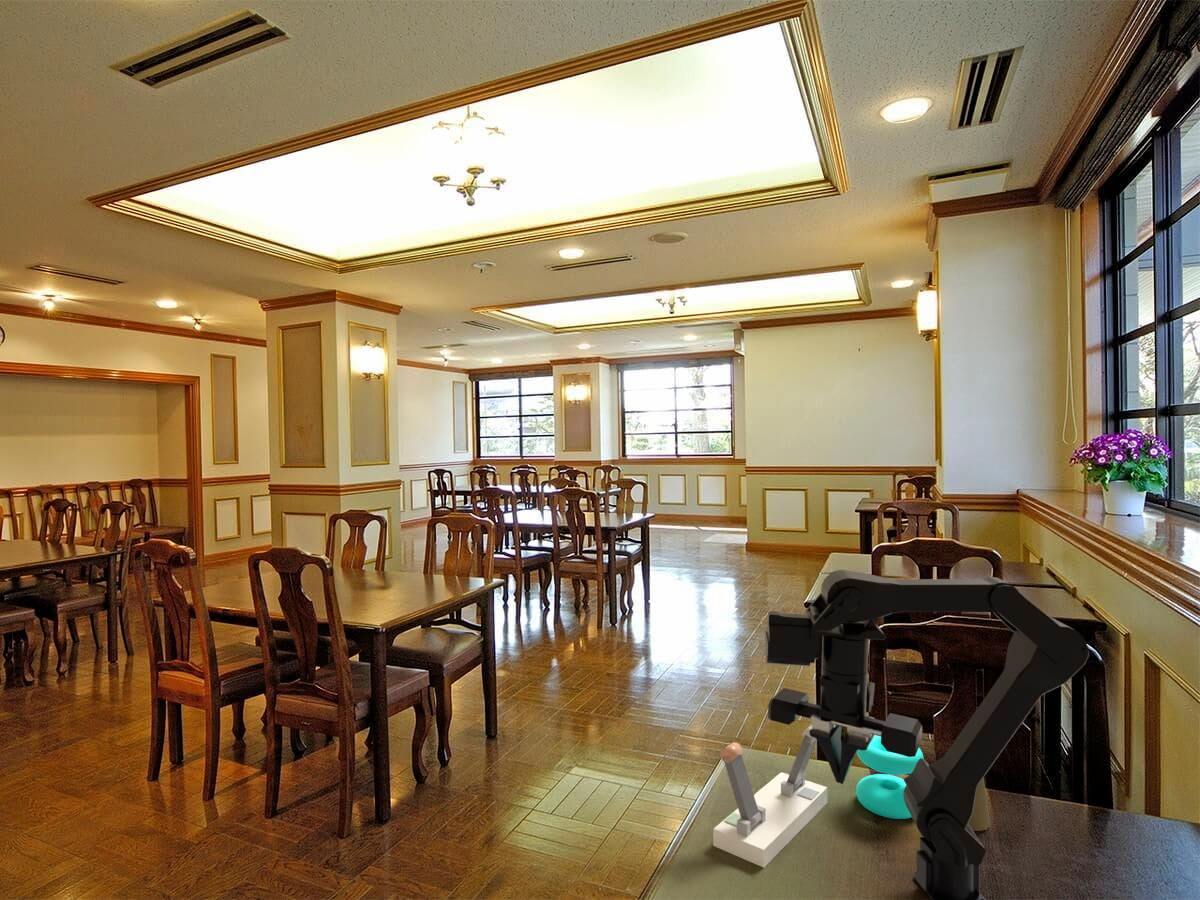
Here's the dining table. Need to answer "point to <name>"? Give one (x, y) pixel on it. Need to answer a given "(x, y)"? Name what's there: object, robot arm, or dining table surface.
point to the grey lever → (802, 759)
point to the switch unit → (771, 820)
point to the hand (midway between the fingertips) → (840, 781)
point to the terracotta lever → (740, 783)
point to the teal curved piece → (885, 780)
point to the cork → (980, 810)
